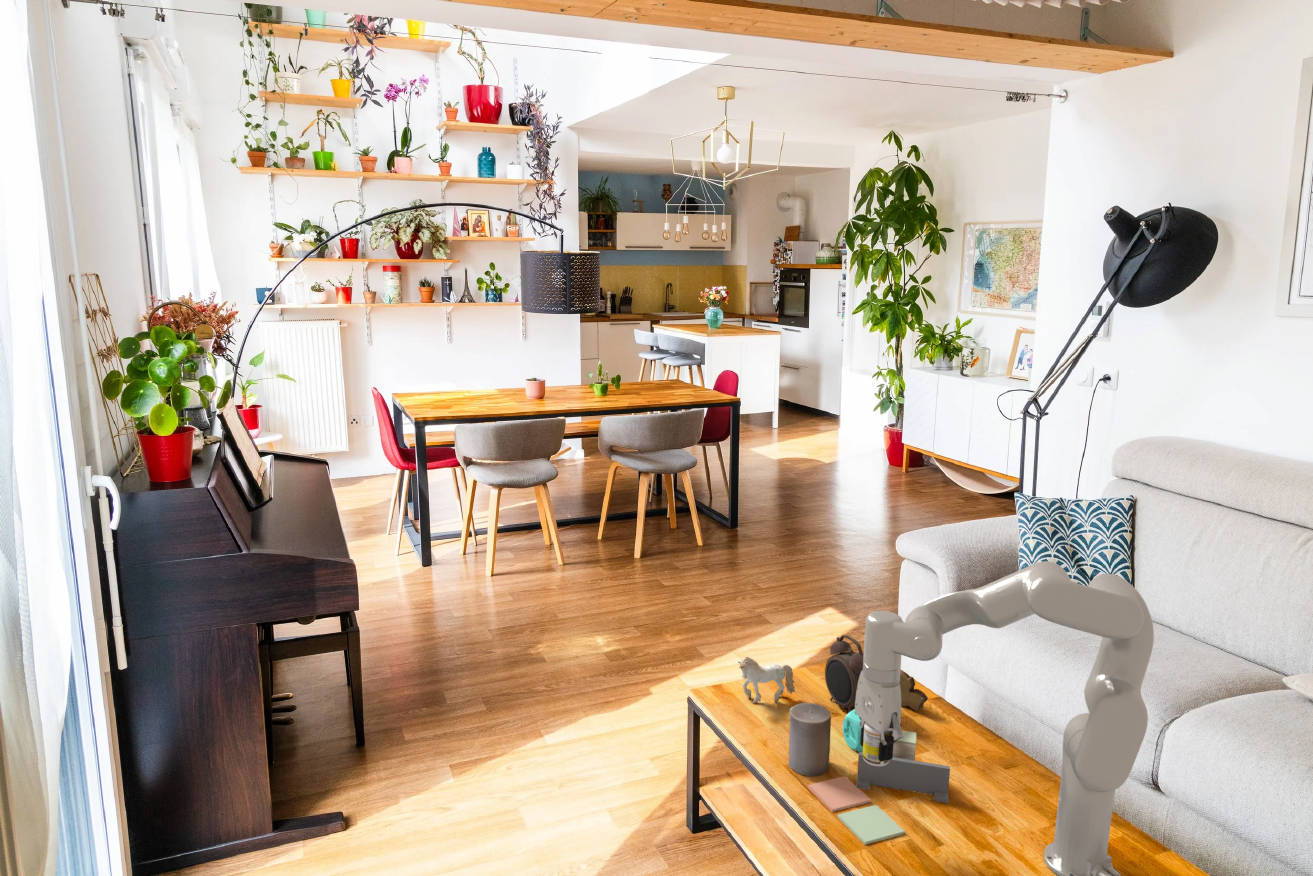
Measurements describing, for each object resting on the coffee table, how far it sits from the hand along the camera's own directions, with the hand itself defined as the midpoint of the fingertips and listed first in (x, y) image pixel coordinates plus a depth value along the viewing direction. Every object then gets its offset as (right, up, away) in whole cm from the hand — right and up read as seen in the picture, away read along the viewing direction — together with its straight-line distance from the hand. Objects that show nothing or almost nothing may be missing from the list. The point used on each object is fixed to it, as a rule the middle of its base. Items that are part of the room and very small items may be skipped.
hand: (876, 751), depth 185 cm
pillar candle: (-10, -13, +26) cm, 31 cm away
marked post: (+12, -14, +22) cm, 28 cm away
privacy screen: (+10, -14, +17) cm, 25 cm away
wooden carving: (+20, -7, +57) cm, 61 cm away
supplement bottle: (0, -2, +1) cm, 2 cm away
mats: (-3, -16, +9) cm, 18 cm away
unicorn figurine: (-17, -7, +55) cm, 58 cm away
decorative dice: (+6, -11, +35) cm, 38 cm away
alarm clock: (+5, -8, +54) cm, 55 cm away
